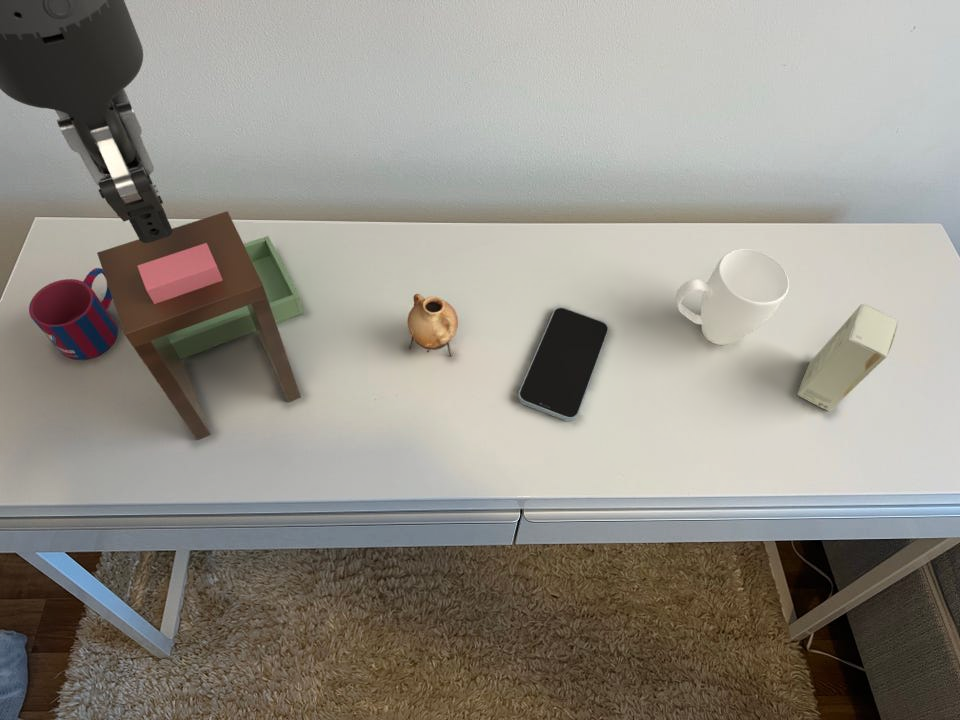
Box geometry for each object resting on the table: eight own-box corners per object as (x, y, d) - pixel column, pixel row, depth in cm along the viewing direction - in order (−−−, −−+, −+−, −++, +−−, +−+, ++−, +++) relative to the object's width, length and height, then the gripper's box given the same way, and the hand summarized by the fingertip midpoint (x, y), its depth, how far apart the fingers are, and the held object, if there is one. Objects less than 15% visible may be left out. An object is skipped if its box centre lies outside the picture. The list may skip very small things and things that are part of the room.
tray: (172, 362, 79) (162, 346, 76) (148, 296, 84) (138, 279, 81) (303, 313, 84) (299, 296, 81) (273, 253, 89) (268, 235, 86)
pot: (410, 323, 85) (405, 363, 81) (410, 278, 79) (404, 319, 75) (457, 327, 85) (454, 367, 81) (461, 283, 79) (457, 324, 75)
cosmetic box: (829, 413, 81) (887, 360, 71) (795, 395, 82) (847, 340, 72) (843, 375, 84) (901, 319, 74) (810, 358, 85) (862, 300, 75)
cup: (45, 345, 79) (14, 311, 74) (106, 287, 84) (82, 251, 79) (89, 369, 78) (61, 336, 72) (149, 308, 83) (128, 273, 77)
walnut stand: (197, 440, 74) (124, 334, 57) (172, 371, 79) (96, 252, 61) (301, 397, 78) (263, 284, 60) (271, 333, 82) (227, 210, 65)
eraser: (154, 304, 58) (146, 290, 57) (145, 280, 60) (136, 265, 58) (222, 280, 60) (216, 266, 58) (212, 257, 61) (206, 242, 60)
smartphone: (611, 324, 85) (576, 421, 77) (609, 328, 86) (574, 424, 78) (556, 304, 86) (515, 398, 78) (554, 309, 87) (514, 402, 79)
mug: (740, 305, 89) (778, 247, 80) (757, 358, 85) (799, 304, 75) (652, 305, 88) (679, 247, 79) (665, 359, 84) (695, 304, 74)
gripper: (-74, -71, 34) (76, 183, 49) (-35, 82, 29) (123, 318, 43) (80, -97, 37) (180, 153, 51) (146, 40, 31) (237, 278, 46)
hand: (154, 228), depth 47 cm, fingers closed
